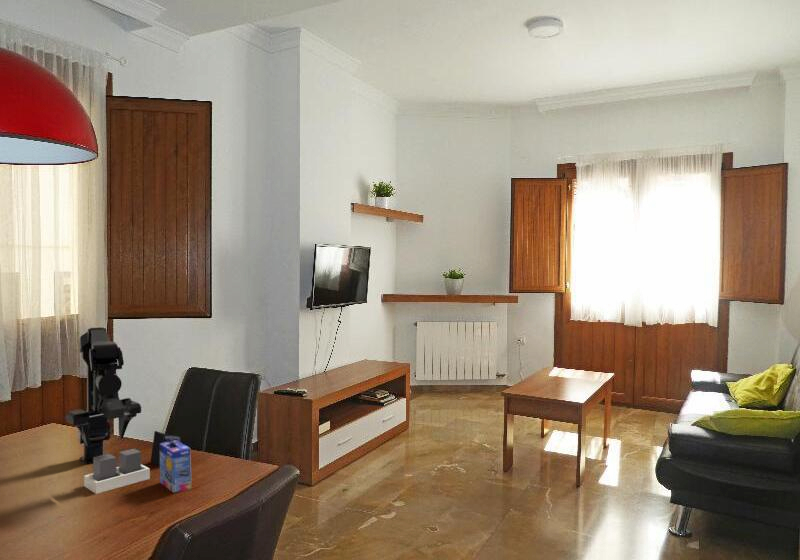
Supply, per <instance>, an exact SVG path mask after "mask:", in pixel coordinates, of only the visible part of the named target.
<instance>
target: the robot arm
mask: <svg viewBox="0 0 800 560" xmlns="http://www.w3.org/2000/svg"><path fill="white" fill-rule="evenodd" d="M110 339H111V338H110V334H109V333H108V332H107V328H106V327H100V326H99V327H90V328H87V331H86V332H85V333H84V334H82V335H81V336H79V342H78V352H79V353H81V358H82V360H83V361H84V362H85V364H86V403H87V404H86V410H83V409H76V410H72V411H71V410H70V411H68V412H67V414H66V415H65V422H66V423H68V424H70V425H72V426H75V427H76V428H77V430H78V442H79V445H82V444H83V456H80V457H79V460H80V461H82V462H84V463H85V464H91V463H93V457H97V456H102V455H105V454H104V453H105V452H104V451H105V450H104V449H105V448H104V447H105V442H104V441H110V439H111V435H112V434H111V433H112V425H111V424H110V421H111V420H114V419H118V436H119V439H120V440H123V439H124V436H125V433H126V431H127V428H128V426H129V423H130V422H131V420H132V419H133V418H135V417H137V414H141V413H142V405H141V404H140V403H139V402H137V401H134V400H132V399H131V398H130V397H127V398H122V399H120V397H119V391H121V388H122V386H123V385H122V380H121V377H119V375H118V374H117V370H122V369H123V366H124V363H125V362H124V355H123V351H122V350H121V347H120V346H119V347H118V344H117V343H116V342H115V341H111V340H110ZM109 420H110V421H109Z"/></svg>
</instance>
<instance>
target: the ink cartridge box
mask: <svg viewBox="0 0 800 560" xmlns="http://www.w3.org/2000/svg"><path fill="white" fill-rule="evenodd" d="M167 439H168V440H169V442H164V443H160V444H159V447H160V466H159V484H161V485H162V486H163V487H165V488H166V489H167V490H169V491H170V492H172V493H177V492H181V491H185V490H190V489H192V465H191V464H192V463H191V460H192V457H191V447H190V446H189V445H186V444H183V443H182V442H181V441H180V442H179V441H177V440H174V441H173V440H172V439H170V438H168V437H167Z"/></svg>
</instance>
